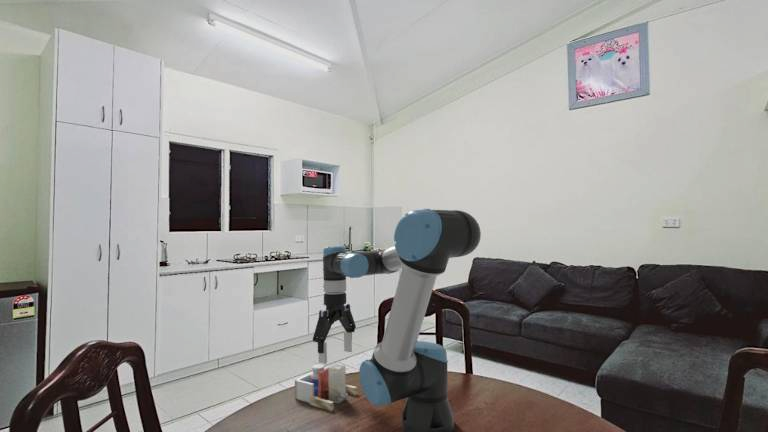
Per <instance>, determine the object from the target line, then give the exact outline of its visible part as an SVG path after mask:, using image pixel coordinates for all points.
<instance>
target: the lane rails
mask: <svg viewBox="0 0 768 432" xmlns="http://www.w3.org/2000/svg"><path fill="white" fill-rule="evenodd" d="M346 393H347V394H348V395H352V396H357V395H358V386H355V385H351V384H347V383H346ZM309 405H310V406H313V407H314V408H315V407H316V408H320V409H322V410H325V411H326V410H327V411H328V412H329V411H330V412H333V411H334V409H335V407H334V406H335V403H334V402H332V401H329V399H326V398H324V399H322V398H318V397H314V396H311V397H310V403H309Z"/></svg>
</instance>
